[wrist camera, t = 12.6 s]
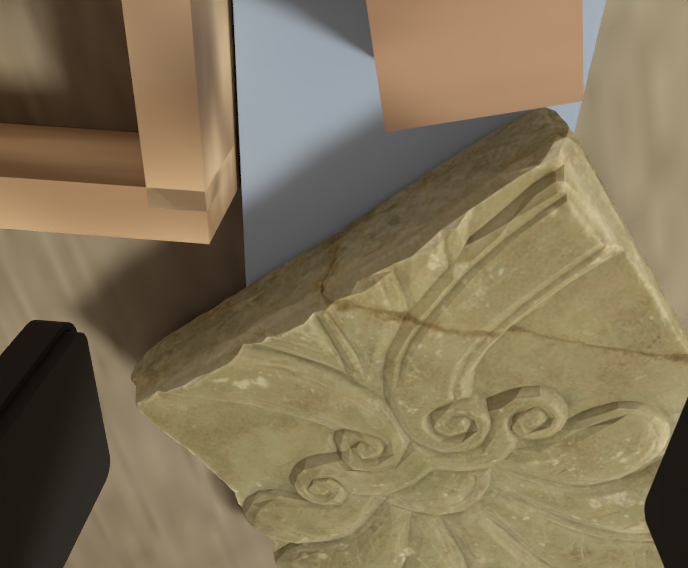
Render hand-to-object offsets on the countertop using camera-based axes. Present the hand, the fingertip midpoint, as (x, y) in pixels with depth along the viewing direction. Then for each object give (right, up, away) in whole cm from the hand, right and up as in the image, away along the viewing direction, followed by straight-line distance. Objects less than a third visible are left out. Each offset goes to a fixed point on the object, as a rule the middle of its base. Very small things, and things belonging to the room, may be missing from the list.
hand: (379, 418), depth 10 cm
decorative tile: (+4, -3, +16) cm, 17 cm away
